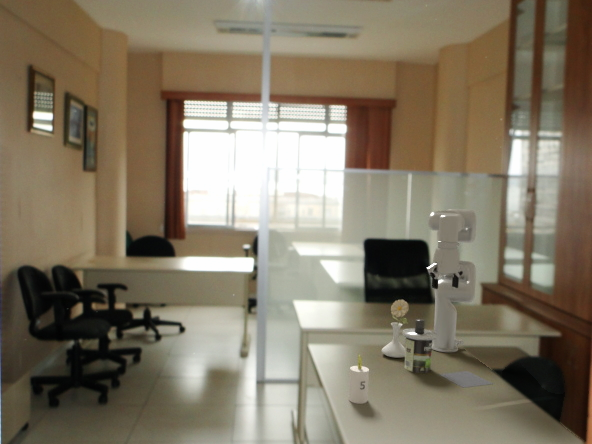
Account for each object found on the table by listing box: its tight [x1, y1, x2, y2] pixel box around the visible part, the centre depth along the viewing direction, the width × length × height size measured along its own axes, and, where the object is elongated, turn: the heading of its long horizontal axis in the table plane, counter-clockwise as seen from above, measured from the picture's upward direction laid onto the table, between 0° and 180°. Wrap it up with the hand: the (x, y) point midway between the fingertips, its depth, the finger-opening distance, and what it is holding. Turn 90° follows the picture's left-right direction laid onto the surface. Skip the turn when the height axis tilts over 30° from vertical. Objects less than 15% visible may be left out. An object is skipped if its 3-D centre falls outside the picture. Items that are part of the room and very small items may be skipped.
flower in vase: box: [381, 299, 410, 359], centre depth 224 cm, size 13×11×25 cm
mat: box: [438, 370, 494, 389], centre depth 197 cm, size 14×14×1 cm
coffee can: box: [403, 337, 433, 374], centre depth 207 cm, size 10×10×14 cm
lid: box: [402, 318, 436, 341], centre depth 206 cm, size 13×13×6 cm
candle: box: [348, 354, 370, 404], centre depth 175 cm, size 6×6×15 cm
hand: (445, 287), depth 212 cm, fingers open, 9 cm apart
